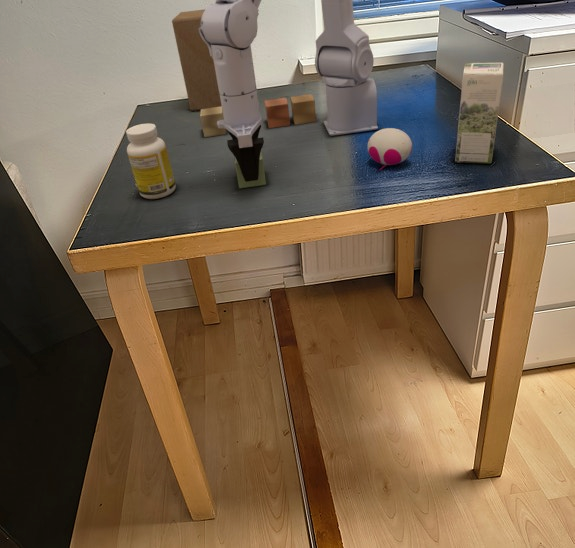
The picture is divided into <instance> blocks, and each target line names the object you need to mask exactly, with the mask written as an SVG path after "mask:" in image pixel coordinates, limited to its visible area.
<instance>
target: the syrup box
mask: <svg viewBox="0 0 575 548" xmlns="http://www.w3.org/2000/svg"><path fill="white" fill-rule="evenodd" d="M504 66H505V65H504V62H466V63H465V65H464V68H463V73H462V80H461V93H460V104H459V114H458V126H457V136H456V148H455V159H454V161H455V163H460V164H461V163H463V164H464V163H465V164H467V163H468V164H485V165H486V164H488V165H489V164H492V161H493V154H494V147H495V140H496V131H497V125H498V119H499V112H500V104H501V97H502V89H503V83H504V68H505V67H504Z"/></svg>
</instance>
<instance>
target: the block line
mask: <svg viewBox="0 0 575 548" xmlns="http://www.w3.org/2000/svg"><path fill="white" fill-rule="evenodd" d="M264 106H265V107H264V108H265V114H266V122H267V126H268V129H273V128H281V127H287V126H288V127H289V126H291V121H290V120H291V119H290V111H289V109H290V108H289V102H288V100H287V97H280V98H273V99H265V100H264ZM290 107H291V117H292V121H293V123H294V125H295V126H296V125H304V124H310V123H315V122H317V116H316V115H317V113H316V101H315V98H314V97H313V94H312V93H309V94H302V95H295V96H290ZM199 117H200V123H201V128H202V132H203V138H210V137H216V136H223V135H227V129H225V128H218V126H217V122H218V121H219V120H224V116H223V111H222V106H221V107H214V108H207V109H201V110H200V113H199Z"/></svg>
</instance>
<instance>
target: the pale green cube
mask: <svg viewBox="0 0 575 548" xmlns="http://www.w3.org/2000/svg"><path fill="white" fill-rule="evenodd" d="M234 167H235V172H236V178H237V184H238V189H245V188H246V189H247V188H252V187H259V186H260V187H261V186H266V185H267V181H266V174H265V166H264V159H263V153H262V151H261V153H260V158H259V176H258V180H255V181H248V182H246V181H245V179H244V177H243V175H242V172H241V169H240V167H239V164H238V162H237V160H236V158H235V157H234Z"/></svg>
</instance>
